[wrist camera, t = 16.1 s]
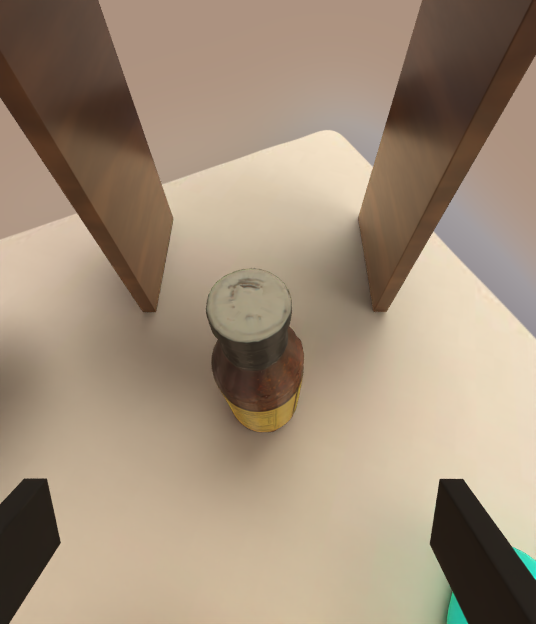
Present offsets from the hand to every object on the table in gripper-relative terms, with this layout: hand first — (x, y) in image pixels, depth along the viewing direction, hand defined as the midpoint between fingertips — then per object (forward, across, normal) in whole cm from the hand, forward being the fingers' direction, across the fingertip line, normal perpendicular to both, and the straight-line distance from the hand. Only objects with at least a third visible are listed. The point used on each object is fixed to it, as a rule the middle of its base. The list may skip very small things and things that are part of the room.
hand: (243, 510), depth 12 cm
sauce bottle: (+20, 0, -8) cm, 22 cm away
